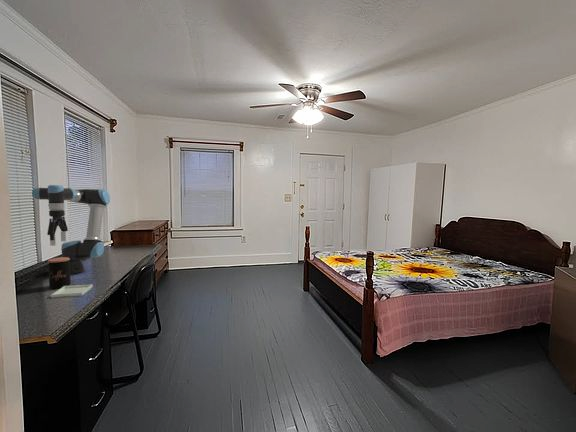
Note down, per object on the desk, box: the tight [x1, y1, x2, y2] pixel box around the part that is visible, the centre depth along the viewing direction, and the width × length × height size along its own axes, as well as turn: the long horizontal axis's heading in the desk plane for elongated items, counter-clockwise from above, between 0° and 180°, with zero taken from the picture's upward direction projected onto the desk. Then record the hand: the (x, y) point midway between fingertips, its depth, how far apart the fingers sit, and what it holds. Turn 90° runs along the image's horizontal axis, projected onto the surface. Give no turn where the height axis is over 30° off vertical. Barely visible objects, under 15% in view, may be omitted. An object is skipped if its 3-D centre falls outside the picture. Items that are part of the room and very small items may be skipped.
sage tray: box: [50, 284, 94, 299], centre depth 170 cm, size 16×16×2 cm
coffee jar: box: [47, 256, 72, 290], centre depth 178 cm, size 11×11×18 cm
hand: (58, 243), depth 177 cm, fingers open, 13 cm apart
